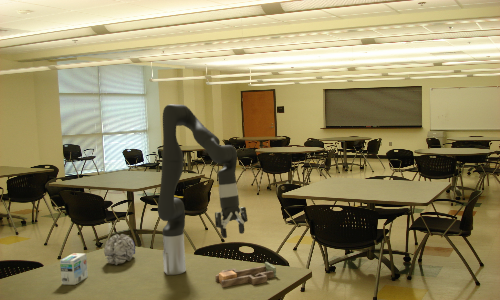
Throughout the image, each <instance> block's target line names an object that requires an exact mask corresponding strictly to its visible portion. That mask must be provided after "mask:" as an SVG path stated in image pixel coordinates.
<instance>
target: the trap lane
mask: <svg viewBox="0 0 500 300" xmlns="http://www.w3.org/2000/svg"><path fill="white" fill-rule="evenodd" d="M231 270H232V271H234V272H235V273H236V274H237V278H232V279H227V280H221V283H220V284H221V287H222V288H227V287H231V286H232V287H233V286H236V285H237V286H238V285H242V284H246V283H250V284H251V285H252V286H254V285H259V284H263V283H268V279H271V278H277V267H276V266H274V265H273V264H272V263H269V262H268V261H265V262H264V265H261V266H256V267H251V268H246V269H241V270H238V269H237V268H231V269H230V268H229V269H224V270H220V273H221V272H226V271H231ZM253 275H254V276H253ZM214 277H215V282H216V283H217V282H219V273H218V274H215V276H214Z"/></svg>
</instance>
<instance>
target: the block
mask: <svg viewBox="0 0 500 300" xmlns="http://www.w3.org/2000/svg"><path fill="white" fill-rule="evenodd" d="M218 274H219V281H218V282H219V283H220V284H221V280H227V279H232V278H237V274H236V273H235V272H234V271H232V270H231V271H226V272H221V271H220V272H219V273H218Z"/></svg>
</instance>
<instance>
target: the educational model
mask: <svg viewBox="0 0 500 300" xmlns="http://www.w3.org/2000/svg"><path fill="white" fill-rule="evenodd" d="M103 253H104V256H105V257H106V258H105V259H106V260H107V261H106V262H107V263H108V264H111V265H113V264H114V265H116V266H117V265H118V264H119V265H120V264H124V263H125V262H126V261H129V262H130V261H131V260H132V259H133V256H134V255H135V254H136V245H135V242H134V240H133V238H132V237H130V236H128V235H127V234H124V233H121V234H118V233H115V234H114V235H112V236H111V237H110V238H109V239H107V240H106V242H105V246H104V250H103Z"/></svg>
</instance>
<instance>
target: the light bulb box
mask: <svg viewBox="0 0 500 300" xmlns="http://www.w3.org/2000/svg"><path fill="white" fill-rule="evenodd" d="M87 259H88V257H87V253H81V252H80V253H76V252H75V253H74V252H73V253H71V254H70V255H68V256H65V257H64V258H61V259H60V260H59V265H60V266H59V267H60V278H61V285H69V286H71V285H74V286H75V285H76V284H79V283H80V282H82V281H84V280H85V279H87V278H89V276H88V275H89V273H88V271H89V270H88V261H87Z"/></svg>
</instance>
